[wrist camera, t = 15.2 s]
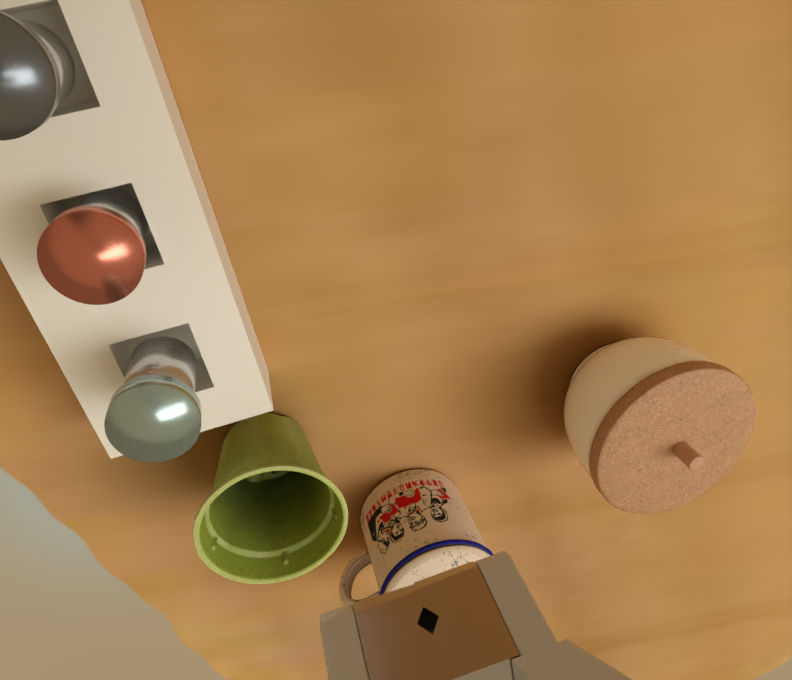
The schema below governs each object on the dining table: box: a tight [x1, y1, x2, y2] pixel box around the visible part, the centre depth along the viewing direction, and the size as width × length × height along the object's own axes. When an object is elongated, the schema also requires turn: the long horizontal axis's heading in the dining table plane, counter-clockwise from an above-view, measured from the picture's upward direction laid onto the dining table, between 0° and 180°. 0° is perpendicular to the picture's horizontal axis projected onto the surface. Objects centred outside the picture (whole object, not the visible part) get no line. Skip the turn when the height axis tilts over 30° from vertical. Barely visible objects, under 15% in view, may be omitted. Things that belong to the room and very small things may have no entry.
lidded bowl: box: [564, 337, 756, 514], centre depth 46 cm, size 13×13×11 cm
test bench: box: [0, 0, 273, 459], centre depth 33 cm, size 26×10×5 cm, turn 11°
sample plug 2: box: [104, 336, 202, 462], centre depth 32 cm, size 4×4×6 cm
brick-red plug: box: [37, 188, 148, 305], centre depth 30 cm, size 4×4×6 cm
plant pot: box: [193, 412, 348, 584], centre depth 41 cm, size 9×9×9 cm
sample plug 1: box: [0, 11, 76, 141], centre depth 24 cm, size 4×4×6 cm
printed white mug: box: [339, 469, 493, 606], centre depth 46 cm, size 12×9×12 cm
